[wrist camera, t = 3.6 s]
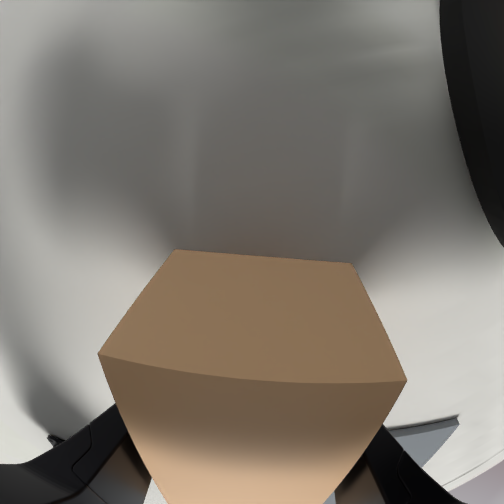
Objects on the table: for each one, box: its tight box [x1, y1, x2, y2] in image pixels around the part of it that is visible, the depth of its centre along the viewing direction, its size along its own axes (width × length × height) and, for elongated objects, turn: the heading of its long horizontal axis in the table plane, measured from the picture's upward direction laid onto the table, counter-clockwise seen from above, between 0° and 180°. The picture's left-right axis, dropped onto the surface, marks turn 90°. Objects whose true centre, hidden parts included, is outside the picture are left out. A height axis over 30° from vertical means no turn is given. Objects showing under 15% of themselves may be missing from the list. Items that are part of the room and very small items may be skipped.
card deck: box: [98, 249, 407, 504], centre depth 8 cm, size 5×8×4 cm, turn 177°
